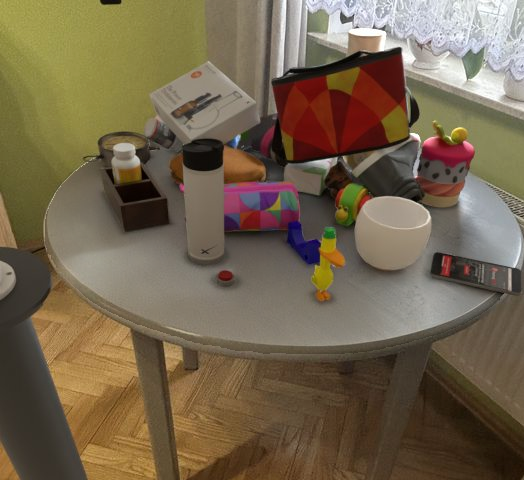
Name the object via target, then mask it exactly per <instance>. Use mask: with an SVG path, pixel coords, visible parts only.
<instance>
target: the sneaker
mask: <svg viewBox="0 0 524 480" xmlns="http://www.w3.org/2000/svg"><path fill="white" fill-rule="evenodd" d="M421 143H422V141H421V138H420V136H419V135H418V134H417V133H410V139H408V140H407V141H405V142H403V143H401V144H398V145H395V146H392V147H389V148H385V149H380V150H377V151H376V152H374V153H373V154H372V155H370V156H369V157H368V158H366V159H365V160H364V161H363V162H361V163H360V164H359V165H358V166H357V167H356V168H354V169H353V170H351V174H352V176H354V178H356V179H357V180H358V181H359V182H360V184H361V185H362V186H365V187H366V189H368V191H369V194H370V193H371V195H372V196H373V197H374V198H375V197H383V196H392V197H401V198H405V199H409V200H412V201H414V202H416V203H418V204H419V200H423V199H422V198H423V197H424V196H425V193H424V190H423V189H421V190H420V187H421V186H420V183H419V181H416V180H415V177H416V176H415V174H414V172H413V171H414V167H415V163H416V161H417V159H418V154H419V151H420V149H421Z"/></svg>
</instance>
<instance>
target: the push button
mask: <svg viewBox="0 0 524 480" xmlns="http://www.w3.org/2000/svg"><path fill="white" fill-rule="evenodd" d="M215 280H216V281H215V282H216V284H217V286H219V287H222V288H229V287H232V286H234V285H235V282H236V276H235V275H234V273H233V272H232V271H231V270H227V269H225V270H224V269H223V270H220V271H219V272H218V273H217V274H216V277H215Z"/></svg>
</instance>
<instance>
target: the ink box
mask: <svg viewBox="0 0 524 480" xmlns="http://www.w3.org/2000/svg"><path fill="white" fill-rule="evenodd" d="M337 162H338V157H335V158H330V159H324V160H318V161H311V162H306V163H299V164H290V163H288V164H287V165H286V167H285V168H284V172H283V182H287V181H293V183H294V187H295V188H296V189H297V192H299V193H306V194H310V195H315V196H321V194H322V193H323V192H324V190H325V189H326V188H327V186H326V185H325V183H324V180H325V178H326V176H327V174H328V172H329V170H330V168H331V167H333V166H335V165H336V164H337Z"/></svg>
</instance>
